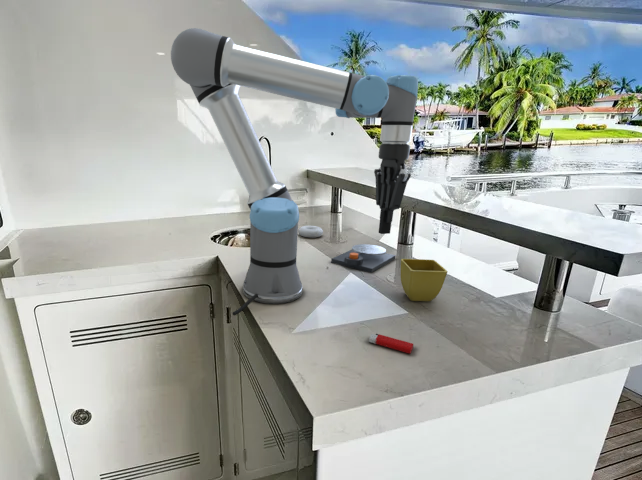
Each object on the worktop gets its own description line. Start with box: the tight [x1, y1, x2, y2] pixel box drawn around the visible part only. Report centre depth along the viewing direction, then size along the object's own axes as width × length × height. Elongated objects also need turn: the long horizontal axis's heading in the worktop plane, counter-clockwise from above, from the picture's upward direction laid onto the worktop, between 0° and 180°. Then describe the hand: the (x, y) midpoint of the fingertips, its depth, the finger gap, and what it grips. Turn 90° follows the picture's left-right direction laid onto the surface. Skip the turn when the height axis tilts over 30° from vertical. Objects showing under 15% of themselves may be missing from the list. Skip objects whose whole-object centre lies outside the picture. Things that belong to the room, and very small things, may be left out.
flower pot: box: [400, 258, 448, 302], centre depth 95 cm, size 9×9×9 cm
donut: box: [298, 225, 324, 239], centre depth 153 cm, size 10×4×10 cm
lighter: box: [368, 333, 414, 355], centre depth 74 cm, size 3×1×8 cm
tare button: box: [349, 253, 358, 259], centre depth 118 cm, size 3×3×2 cm
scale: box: [330, 249, 397, 274], centre depth 123 cm, size 19×14×3 cm
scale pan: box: [351, 243, 387, 255], centre depth 125 cm, size 11×11×1 cm
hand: (384, 233), depth 105 cm, fingers closed
